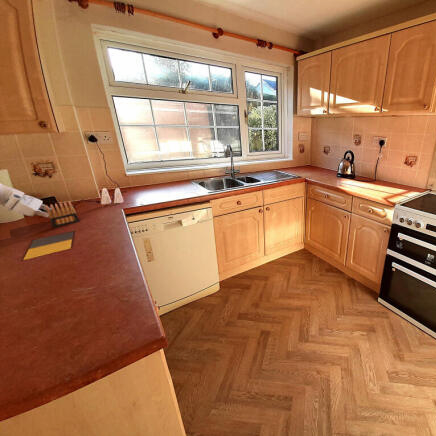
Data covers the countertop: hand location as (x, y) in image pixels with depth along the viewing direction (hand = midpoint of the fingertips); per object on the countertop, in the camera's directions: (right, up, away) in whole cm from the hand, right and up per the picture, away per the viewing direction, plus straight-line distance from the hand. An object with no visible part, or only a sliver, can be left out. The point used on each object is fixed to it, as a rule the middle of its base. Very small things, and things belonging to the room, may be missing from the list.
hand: (49, 213), depth 124 cm
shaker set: (+6, +7, +36) cm, 37 cm away
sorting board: (+19, -15, -19) cm, 31 cm away
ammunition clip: (+4, -6, +5) cm, 9 cm away
